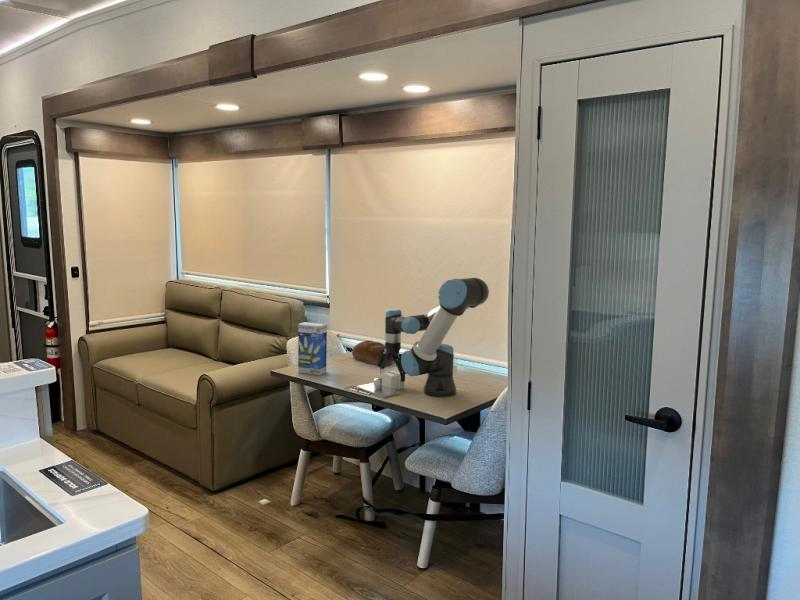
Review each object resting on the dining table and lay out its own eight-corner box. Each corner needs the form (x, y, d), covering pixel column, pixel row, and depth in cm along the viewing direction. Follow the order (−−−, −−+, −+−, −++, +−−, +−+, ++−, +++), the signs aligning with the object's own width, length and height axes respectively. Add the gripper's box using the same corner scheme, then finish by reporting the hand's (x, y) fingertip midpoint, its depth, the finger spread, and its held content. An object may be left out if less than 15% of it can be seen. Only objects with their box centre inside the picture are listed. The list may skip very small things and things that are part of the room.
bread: (378, 368, 325) (378, 347, 324) (345, 358, 347) (345, 338, 345) (399, 363, 336) (399, 343, 334) (366, 354, 357) (366, 335, 355)
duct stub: (400, 394, 278) (400, 381, 277) (383, 398, 271) (383, 385, 270) (373, 384, 292) (373, 372, 292) (356, 388, 286) (356, 375, 285)
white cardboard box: (403, 387, 288) (404, 373, 287) (391, 390, 283) (391, 375, 282) (393, 383, 294) (393, 369, 293) (380, 386, 289) (380, 372, 288)
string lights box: (297, 372, 312) (297, 323, 308) (305, 369, 319) (304, 321, 315) (320, 375, 307) (320, 326, 304) (327, 372, 314) (327, 323, 311)
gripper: (416, 344, 279) (415, 389, 282) (382, 336, 297) (381, 377, 300) (404, 347, 274) (403, 392, 277) (370, 338, 292) (370, 380, 295)
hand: (392, 384), depth 289 cm, fingers open, 13 cm apart
